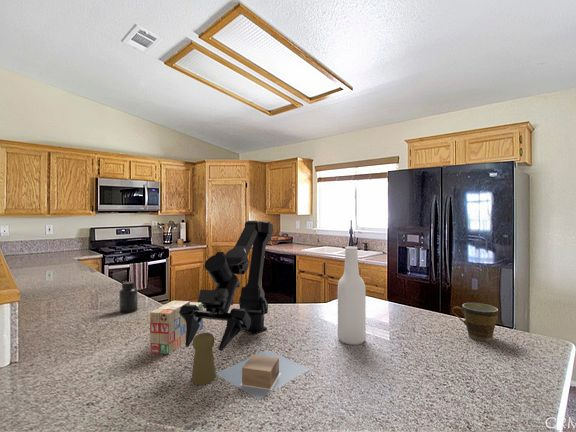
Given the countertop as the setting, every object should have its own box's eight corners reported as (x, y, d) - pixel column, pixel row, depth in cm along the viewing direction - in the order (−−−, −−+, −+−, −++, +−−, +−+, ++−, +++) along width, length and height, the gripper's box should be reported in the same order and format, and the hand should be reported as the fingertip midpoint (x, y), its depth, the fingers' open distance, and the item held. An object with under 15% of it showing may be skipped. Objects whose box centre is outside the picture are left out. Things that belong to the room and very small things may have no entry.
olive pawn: (194, 373, 79) (193, 330, 79) (218, 372, 79) (217, 329, 79) (188, 386, 73) (188, 340, 73) (214, 385, 73) (214, 339, 73)
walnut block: (253, 370, 80) (253, 354, 80) (279, 373, 78) (278, 357, 78) (242, 384, 73) (242, 367, 73) (270, 388, 71) (270, 371, 71)
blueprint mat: (266, 351, 91) (266, 349, 91) (309, 369, 80) (309, 368, 80) (214, 374, 78) (214, 373, 78) (258, 400, 67) (258, 399, 67)
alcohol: (332, 337, 102) (332, 246, 101) (354, 332, 105) (354, 245, 105) (347, 347, 94) (347, 249, 93) (371, 342, 97) (371, 247, 97)
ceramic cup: (495, 334, 103) (495, 304, 103) (501, 346, 94) (501, 313, 94) (451, 328, 109) (451, 300, 109) (453, 339, 100) (453, 308, 100)
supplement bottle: (132, 307, 135) (132, 280, 135) (140, 310, 131) (140, 282, 131) (116, 311, 129) (116, 283, 129) (124, 314, 125) (124, 285, 125)
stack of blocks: (187, 327, 112) (187, 293, 112) (203, 328, 110) (203, 293, 110) (149, 353, 91) (149, 311, 91) (169, 355, 89) (168, 312, 89)
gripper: (182, 274, 83) (155, 329, 73) (246, 278, 78) (227, 337, 68) (198, 296, 91) (175, 349, 80) (258, 300, 86) (241, 357, 75)
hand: (203, 348), depth 76 cm, fingers open, 9 cm apart
